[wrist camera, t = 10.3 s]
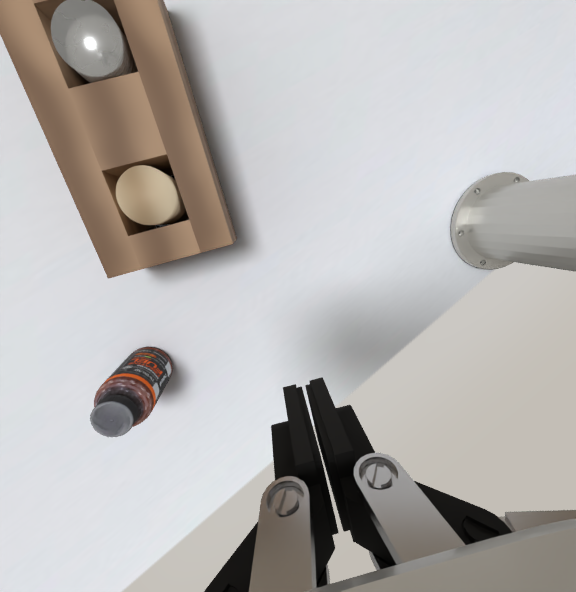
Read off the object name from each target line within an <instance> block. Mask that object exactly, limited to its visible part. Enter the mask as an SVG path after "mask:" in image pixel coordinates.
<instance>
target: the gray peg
mask: <svg viewBox="0 0 576 592" xmlns="http://www.w3.org/2000/svg"><path fill="white" fill-rule="evenodd" d="M51 36H52V40H53V43H54V45H55V48H56V50H57V51H58V53H59V55H60V56H61V57H62V59H63V60H64V61H65V62H66V63H67V64H68V65H70V66H71V67H72V68H73V69H74V70H75V71H77V72H78V73H79V74H80V75H81V76H82V77H84V78H85V79H86V80H87V81H88V82H89V83H94V82H98V81H102V80H106V79H110V78H114V77H119V76H123V75H127V74H131V73H135V72H138V69H137V66H136V63H135V60H134V57H133V54H132V51H131V49H130V46H129V43H128V40H127V38H126V37H125V35H124V34H123V33H122V31H121V30H120V28H119V27H118V25H117V24H116V22H115V21H114V19H113V18H112V16H111V15H110V14H109V13H108V11H107V10H105V9H104V8H103V7H102V6H101V5H99V4H98V3H96V2H94V1H92V0H66V1H64V2H63V3H61V4H60V5H59V6H58V7H57V9H56V10H55V12H54V14H53V17H52V20H51Z"/></svg>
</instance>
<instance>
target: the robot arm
mask: <svg viewBox="0 0 576 592" xmlns="http://www.w3.org/2000/svg"><path fill="white" fill-rule="evenodd" d="M451 238H452V242H453V245H454V248H455V250H456V252H457V253H458V255H459V256H460V257H461V258H462V259H463V260H464V261H465V262H466V263H468V264H470V265H472V266H474V267H478V268H482V269H498V268H501V267H505V266H507V265H509V264H511V263H513V262H518V263H525V264H531V265H538V266H545V267H551V268H557V269H563V270H571V271H576V175H570V176H563V177H556V178H549V179H542V180H535V181H529V180H528V179H527V178H525V177H523V176H522V175H519V174H516V173H512V172H502V173H496V174H492V175H488V176H486V177H484V178H482V179H480V180H478V181H476V182H475V183H474V184H473V185H471V186H470V187H469V188H468V189H467V190H466V191H465V192H464V194H463V195H462V197H461V198H460V200H459V201H458V203H457V205H456V208H455V210H454V213H453V217H452V222H451ZM306 390H307V394H308V399H309V403H310V407H311V412H312V416H313V420H314V425H315V429H316V433H317V438H318V442H319V445H320V449H321V453H322V456H323V460H324V463H325V467H326V471H327V474H328V477H329V481H330V485H331V488H332V492H333V495H334V499H335V502H336V506H337V510H338V513H339V517H340V520H341V524H342V527H343V530H344V531H348V530H350V532H351V535H352V538H353V542H356V543H357V544H359V545H361V546H362V547H364V548H366V549H367V550H369V553H370V557H371V560H372V562H373V564H374V566H375V568H376V570H377V571H374V572H370V573H367V574H364V575H360V576H357V577H353V578H350V579H346V580H343V581H340V582H336V583H332V584H330V578H329V570H328V565H327V563H328V561H329V559H330V557H331V555H332V553H333V551H334V549H335V545H334V541H333V537H332V535H334V534H337V533H338V529H337V524H336V520H335V515H334V511H333V507H332V502H331V498H330V494H329V490H328V486H327V481H326V477H325V472H324V468H323V464H322V460H321V456H320V452H319V448H318V445H317V441H316V437H315V434H314V430H313V426H312V423H311V419H310V416H309V412H308V408H307V405H306V401H305V397H304V394H303V390H302V387H298V388H296V384H295V385H291V386H287V387H283V391H284V397H285V403H286V410H287V416H288V421H286V422H282V423H278V424H274V425H272V426H271V431H272V444H273V457H274V469H275V470H274V471H275V481H273V482H272V483H271V484H270V485H269V486H268V487H267V488H266V490H265V492H264V493H263V496H262V499H261V505H260V513H259V520H258V522H257V524H256V525H255V526H254V528H253V529H252V530H251V531H250V533H249V534H248V535H247V537H246V538H245V539H244V540H243V542H242V543H241V544H240V546H239V547H238V548H237V550H236V551H235V552H234V553H233V555H232V556H231V557H230V559H229V560H228V561H227V563H226V564H225V565H224V566H223V568H222V569H221V570H220V572H219V573H218V574H217V575H216V577H215V578H214V579H213V581H212V582H211V583H210V585H209V586H208V587H207V588H206V590H205V592H576V510H561V511H526V512H505V517H497V516H496V515H495V514H493V513H491V512H489V511H487V510H485V509H483V508H480V507H478V506H475V505H473V504H470V503H468V502H465V501H463V500H460V499H458V498H455V497H453V496H450V495H448V494H445V493H443V492H440V491H438V490H435V489H433V488H430V487H428V486H425V485H423V484H420V483H418V482H416V481H413V479H412V478H411V477H410V476H409V475H408V473H407V472H406V471H405V470H404V469H403V467H402V466H401V465H400V464H399V462H397V461H396V460H395V459H394V458H392V457H391V456H389V455H386V454H382V453H375V451H374V450H373V448H372V446H371V444H370V442H369V440H368V438H367V436H366V434H365V432H364V430H363V428H362V426H361V424H360V422H359V420H358V418H357V416H356V414H355V412H354V411H353V409H352V407H351V405H347V406H343V407H340V408H335V406H334V404H333V401H332V399H331V397H330V394H329V392H328V389H327V387H326V385H325V382H324V380H323V378H318V379H314V380H311V381H310V385H306Z"/></svg>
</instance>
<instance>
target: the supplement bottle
mask: <svg viewBox="0 0 576 592" xmlns="http://www.w3.org/2000/svg"><path fill="white" fill-rule="evenodd" d="M171 374H172V363H171V361H170V358H169V357H168V356H167V355H166V354H165V353H164V352H163V351H161V350H159V349H157V348H152V347H145V348H140V349H137V350H136V351H134V352H133V353H132V354H131V355H130V356H128V357H127V359H126V360H125V361H124V362H123V363H122V364H121V365H120V366H119V367H118V368H117V369H116V370H115V371H114V372H113V373H112V375H111V376H110V377H109V378H108V379H107V380H106V381H105V382H104V383H103V384H102V385H101V387H100V388H99V389H98V391H97V393H96V395H95V399H94V407H95V408H94V409H93V411H92V413H91V415H90V416H91V417H90V421H91V424H92V426H93V428H94V429H95V430H96V431H97V432H98V433H100V434H102V435H104V436H107V437H118V436H121V435H124V434H125V433H127V432H128V431H129V430H130V429H131V428H132V427H133V426H136V425H138V424H140V423H141V422H143V421H144V420H145V419H146V418H147V417H148V416H149V415H150V413H151V412H152V410H153V408H154V406H155V404H156V403H157V401H158V399H159V397H160V395H161V393H162V392H163V390H164V388H165V386H166V384H167V382H168V381H169V379H170V376H171Z"/></svg>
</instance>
